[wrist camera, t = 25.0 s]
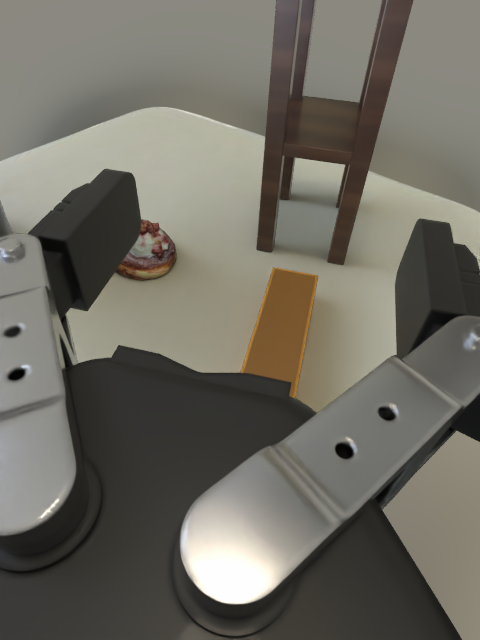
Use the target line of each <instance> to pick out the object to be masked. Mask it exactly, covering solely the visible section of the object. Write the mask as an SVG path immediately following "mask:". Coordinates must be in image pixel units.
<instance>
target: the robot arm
mask: <svg viewBox="0 0 480 640" xmlns="http://www.w3.org/2000/svg"><path fill="white" fill-rule="evenodd" d="M140 231H141V216H140V209H139V203H138V196H137V189H136V183H135V178H134V176H133V174H132V173H129V172H123V171H116V170H110V169H104V170H103V171H102V172H101V173H100V174H99V175H98V176H97V177H96V178H95V179H94V180H93V181H92V182H91V183H90V184H89V183H87V184H85V185H83V186H81V187H79V188H77V189H74V190H72V191H71V192H70V193H69V194H68V195H67V196H66V197H65V198H64V199H63V200H62V203H59V204H58V205H57V206H56V207H55V208H54V211H52V210H51V211H50V212H49V213H48V214H47V215H46V216H45V217H44V218H43V219H42V220H41V221H40V222H39V223H38V224H37V225H36V226H35V227H34V228H33V229H32V230H31V231H30V232H29V233H28V234H19V233H18V234H14V233H13V232H12V229H11V227H10V225H9V222H8V220H7V217H6V215H5V212H4V209H3V207H2V204H1V202H0V640H462V639H461V637H460V635H459V634H458V632H457V630H456V629H455V627H454V625H453V624H452V622H451V620H450V619H449V617H448V616H447V614H446V613H445V611H444V609H443V608H442V606H441V604H440V603H439V601H438V599H437V598H436V596H435V595H434V593H433V591H432V590H431V588H430V587H429V585H428V584H427V582H426V580H425V578H424V577H423V575H422V574H421V572H420V570H419V569H418V567H417V566H416V564H415V562H414V561H413V559H412V558H411V556H410V554H409V553H408V552H407V550H406V548H405V546H404V545H403V543H402V542H401V540H400V538H399V537H398V535H397V533H396V532H395V530H394V528H393V527H392V525H391V524H390V522H389V521H388V519H387V517H386V516H385V514H384V512H383V511H382V509H383V508H384V507H385V506H386V505H387V504H388V503H389V502H390V501H391V500H392V499H393V498H394V497H395V495H396V494H397V493H398V492H399V491H400V490H401V489H402V488H403V486H404V485H405V484H406V483H407V482H408V481H409V480H410V478H411V477H412V476H413V475H414V474H415V473H416V472H417V471H418V470H419V469H420V468H421V467H422V466H423V465H424V464H425V463H426V462H427V461H428V460H429V458H430V457H431V456H432V455H433V454H434V453H435V452H436V451H437V450H438V449H439V448H440V447H441V446H442V445H443V444H444V443H445V442H446V441H447V440H448V439H449V438H450V437H451V436H452V435H453V434H454V433H455V432H456V431H459V432H461V433H463V434H465V435H467V436H469V437H471V438H473V439H475V440H477V441H479V442H480V275H479V273H480V270H479V266H478V262H477V258H476V257H475V256H474V255H473V254H472V253H471V251H470V250H469V249H468V248H467V247H466V246H465V245H461V244H455V243H453V238H452V232H451V227H450V224H449V223H446V222H439V221H433V220H426V219H419V220H418V221H417V222H416V224H415V227H414V229H413V232H412V234H411V237H410V239H409V242H408V245H407V247H406V250H405V252H404V255H403V257H402V260H401V263H400V265H399V268H398V272H397V276H396V282H395V304H396V342H397V355H394V356H391V357H390V358H388V359H387V360H385V361H384V362H383V363H382V364H380V365H379V366H378V367H376V368H375V369H374V370H373V371H371V372H370V373H369V374H367V375H366V376H365V377H364V378H362V379H361V380H360V381H358V382H357V383H356V384H355V385H353V386H352V387H351V388H349V389H348V390H347V391H346V392H344V393H343V394H342V395H340V396H339V397H338V398H337V399H335V400H334V401H333V402H331V403H330V404H329V405H328V406H326V407H325V408H324V409H322V410H321V411H320V412H319V413H316V412H315V411H313V410H312V409H311V408H310V407H308V406H307V405H305V404H304V403H302V402H301V401H299V400H297V399H295V398H293V397H291V396H289V394H290V389H291V384H292V382H288V381H283V380H278V379H274V378H269V377H264V376H260V375H255V374H250V373H201V372H197V371H194V370H192V369H190V368H188V367H186V366H184V365H182V364H179V363H177V362H175V361H173V360H171V359H169V358H167V357H165V356H163V355H161V354H157V353H153V352H148V351H143V350H139V349H134V348H129V347H125V346H120V345H118V347H117V349H116V351H115V352H114V354H113V356H112V357H111V358H101V359H94V360H89V361H85V362H81V363H78V360H77V356H76V351H75V347H74V343H73V338H72V334H71V329H70V325H69V321H68V318H67V315H66V313H67V312H68V310H69V309H70V308H74V309H79V310H84V311H88V310H89V308H90V307H91V305H92V304H93V303H94V301H95V300H96V298H97V297H98V295H99V294H100V293H101V291H102V290H103V288H104V287H105V285H106V284H107V283H108V281H109V280H110V278H111V277H112V275H113V274H114V273H115V271H116V270H117V268H118V267H119V266H120V264H121V263H122V261H123V260H124V258H125V257H126V256H127V254H128V253H129V251H130V250H131V248H132V247H133V246H134V244H135V243H136V241H137V240H138V238H139V235H140Z"/></svg>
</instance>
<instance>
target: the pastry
mask: <svg viewBox="0 0 480 640" xmlns="http://www.w3.org/2000/svg"><path fill="white" fill-rule="evenodd" d="M176 256H177V255H176V249H175V244H174V243H173V241H172V240H171V239H170V237H169V236H168V235H167V234H166V233H165V232H164V231H162V229H161V228H159V224H158V223H150V222H149V221H146V220H143V219H142V220H141V231H140V235H139V238H138V240H137V241H136V243H135V244H134V246H133V247H132V248H131V250H130V251H129V253H128V254H127V256H126V257H125V258H124V260H123V261H122V263H121V264H120V266H119V267H118V268H117V270H116V271H117V272H118V273H119V274H122V275H125V276H127V277H130V278H133V279H139V280H145V279H153V278H158V277H160V276H161V275H163V274H165V273H167V272H168V271H169V270H170V268H171V267H172V265H173V263H174V262H175V260H176Z"/></svg>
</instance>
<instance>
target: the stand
mask: <svg viewBox="0 0 480 640" xmlns="http://www.w3.org/2000/svg"><path fill="white" fill-rule="evenodd" d="M412 4H413V0H382V2H381V6H380V10H379V15H378V20H377V24H376V28H375V33H374V38H373V42H372V47H371V51H370V56H369V60H368V65H367V69H366V73H365V79H364V83H363V87H362V91H361V96H360V100H359V103H357V102H350V101H341V100H333V99H325V98H317V97H308V96H304V89H305V81H306V74H307V66H308V59H309V51H310V43H311V36H312V29H313V21H314V13H315V7H316V0H276V11H275V24H274V36H273V49H272V50H273V51H272V62H271V75H270V87H269V100H268V112H267V125H266V137H265V150H264V162H263V175H262V188H261V200H260V213H259V225H258V238H257V250H261V251H267V252H272V250H273V247H274V243H275V235H276V226H277V217H278V208H279V200H280V199H285V200H289V197H290V194H291V186H292V179H293V171H294V164H295V157H296V158H303V159H310V160H317V161H324V162H331V163H338V164H345V168H344V172H343V177H342V181H341V186H340V190H339V195H338V199H337V205H336V208H339V211H338V215H337V219H336V224H335V228H334V232H333V237H332V241H331V245H330V250H329V255H328V262H330V263H335V264H341V265H343V264H344V260H345V256H346V253H347V249H348V245H349V241H350V237H351V234H352V230H353V226H354V222H355V219H356V215H357V211H358V207H359V204H360V200H361V196H362V192H363V188H364V185H365V181H366V177H367V173H368V170H369V165H370V162H371V158H372V154H373V151H374V147H375V142H376V139H377V136H378V132H379V128H380V124H381V121H382V117H383V113H384V109H385V105H386V102H387V98H388V94H389V90H390V86H391V83H392V79H393V75H394V72H395V68H396V64H397V60H398V56H399V53H400V49H401V45H402V41H403V38H404V34H405V30H406V26H407V22H408V18H409V15H410V11H411V7H412Z"/></svg>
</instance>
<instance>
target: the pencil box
mask: <svg viewBox="0 0 480 640" xmlns="http://www.w3.org/2000/svg"><path fill="white" fill-rule="evenodd" d="M317 280H318V276H317V275H312V274H306V273H301V272H296V271H290V270H285V269H279V268H273V270H272V273H271V276H270V280H269V283H268V286H267V289H266V292H265V296H264V299H263V302H262V305H261V308H260V312H259V315H258V318H257V321H256V324H255V328H254V331H253V334H252V337H251V341H250V344H249V347H248V350H247V353H246V357H245V360H244V363H243V366H242V369H241V373H250V374H255V375H260V376H264V377H269V378H274V379H278V380H283V381H288V382H292V384H291V389H290V394H289V396H291V397H293V398H295V397H296V392H297V387H298V381H299V376H300V371H301V365H302V360H303V355H304V349H305V344H306V338H307V333H308V328H309V322H310V317H311V312H312V306H313V301H314V296H315V290H316V285H317Z"/></svg>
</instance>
